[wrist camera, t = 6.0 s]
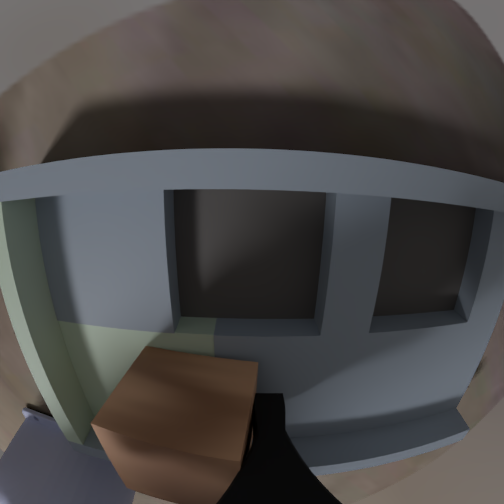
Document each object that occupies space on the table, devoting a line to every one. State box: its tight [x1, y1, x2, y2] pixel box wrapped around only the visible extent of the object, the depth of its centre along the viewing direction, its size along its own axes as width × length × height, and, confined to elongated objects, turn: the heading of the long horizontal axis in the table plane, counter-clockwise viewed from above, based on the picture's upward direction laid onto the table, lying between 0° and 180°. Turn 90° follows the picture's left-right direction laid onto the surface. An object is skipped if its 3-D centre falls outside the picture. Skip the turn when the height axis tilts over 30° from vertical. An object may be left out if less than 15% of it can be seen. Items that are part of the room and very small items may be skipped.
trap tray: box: [0, 148, 504, 476], centre depth 11 cm, size 22×14×4 cm, turn 89°
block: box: [91, 346, 258, 504], centre depth 9 cm, size 4×4×4 cm
